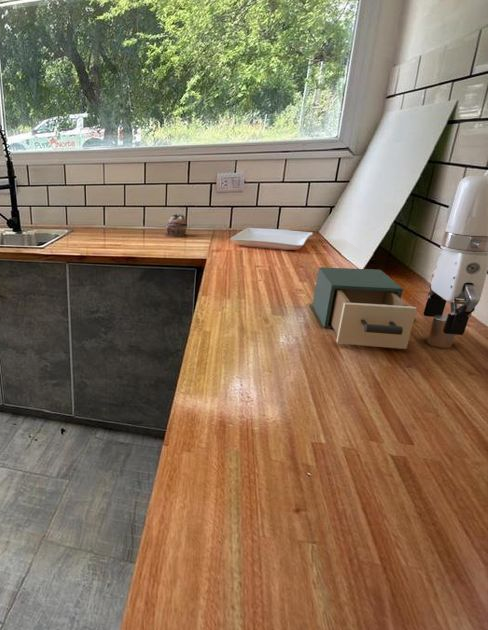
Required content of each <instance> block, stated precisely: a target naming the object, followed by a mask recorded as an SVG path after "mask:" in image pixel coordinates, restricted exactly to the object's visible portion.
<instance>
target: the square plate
mask: <svg viewBox="0 0 488 630" xmlns="http://www.w3.org/2000/svg"><path fill="white" fill-rule="evenodd" d="M313 235H314V232H313V231H300V230H291V229H278V228H260V227H259V228H257V227H256V228H255V227H246V228H244V229H243V230H241V231H239V232H238V233H236V234H235V235H233V236H231V237H230V241H231V242H232V243H233V244H235V245H240V246H243V247H247V248H257V249H268V250H280V251H297V250H299V249H301V248H302V247H303V246H304V245H305V244H306V242H307V241H308V239H310V238H311V237H312V236H313Z"/></svg>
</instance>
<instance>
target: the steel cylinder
mask: <svg viewBox="0 0 488 630" xmlns="http://www.w3.org/2000/svg"><path fill="white" fill-rule="evenodd" d="M447 316H448V314H447V315H446V314H442V315H435V316H434V317H433V319H432V322H431V326H430V330H429V334H428V337H427V340H426V342H427V344H428V345H430V346H434V347H436V348H443V349H447V348H451V347H452V346H453V342H454V338H455V336H456V335H455V334H445V333H444V332H443V329H444V326H445V323H446V319H447Z"/></svg>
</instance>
